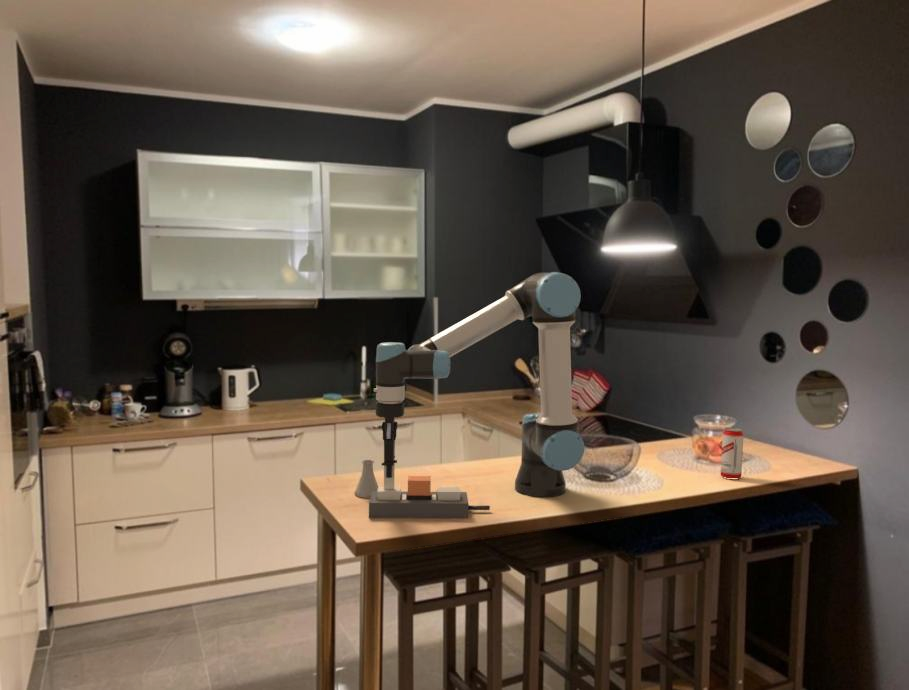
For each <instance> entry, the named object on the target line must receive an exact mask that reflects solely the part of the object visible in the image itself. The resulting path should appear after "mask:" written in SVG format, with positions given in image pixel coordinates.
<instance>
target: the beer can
mask: <svg viewBox="0 0 909 690" xmlns="http://www.w3.org/2000/svg"><path fill="white" fill-rule="evenodd" d="M721 439H722V442H721V460H720V462H721V463H720V476H721V477H722V476H723V477H726V478H739V479H741V478H740V477H742V469H743V453H744V450H743V449H744V433H743V429H742V428H738V427H724V431H723V432H722V438H721ZM723 477H722V478H723Z"/></svg>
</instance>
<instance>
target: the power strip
mask: <svg viewBox="0 0 909 690" xmlns="http://www.w3.org/2000/svg"><path fill="white" fill-rule="evenodd" d="M490 509H491V506H490V505H469V497H468V492H467V491H461V497H460V500H438V491H430V496H424V495H408V491H401V500H377V491H372V493H371V497H370V498H369V501H368V518H369V519H469V511H490Z"/></svg>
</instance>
